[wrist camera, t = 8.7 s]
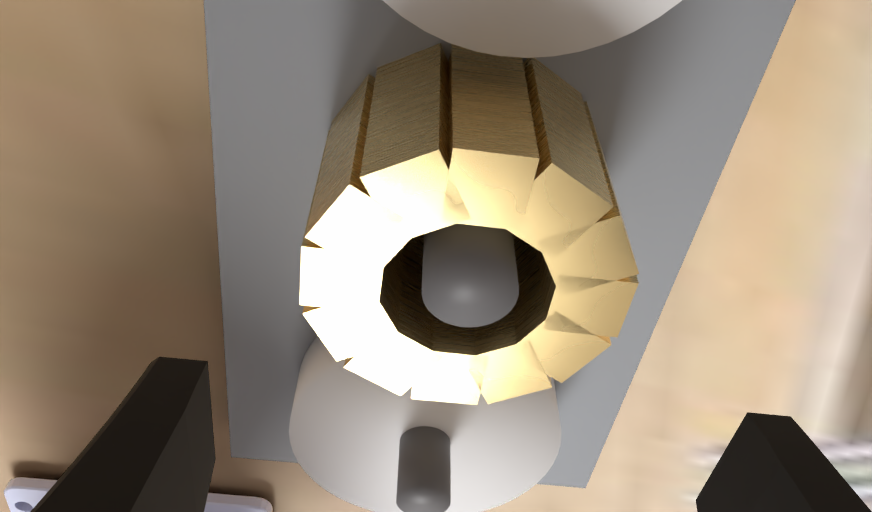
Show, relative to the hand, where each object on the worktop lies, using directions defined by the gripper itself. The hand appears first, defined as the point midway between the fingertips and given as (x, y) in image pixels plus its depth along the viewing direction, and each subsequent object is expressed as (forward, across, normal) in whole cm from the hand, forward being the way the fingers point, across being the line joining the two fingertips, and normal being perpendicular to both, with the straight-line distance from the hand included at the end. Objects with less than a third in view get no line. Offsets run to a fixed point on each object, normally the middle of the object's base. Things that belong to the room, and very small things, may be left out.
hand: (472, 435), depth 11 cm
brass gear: (+6, 0, 0) cm, 6 cm away
